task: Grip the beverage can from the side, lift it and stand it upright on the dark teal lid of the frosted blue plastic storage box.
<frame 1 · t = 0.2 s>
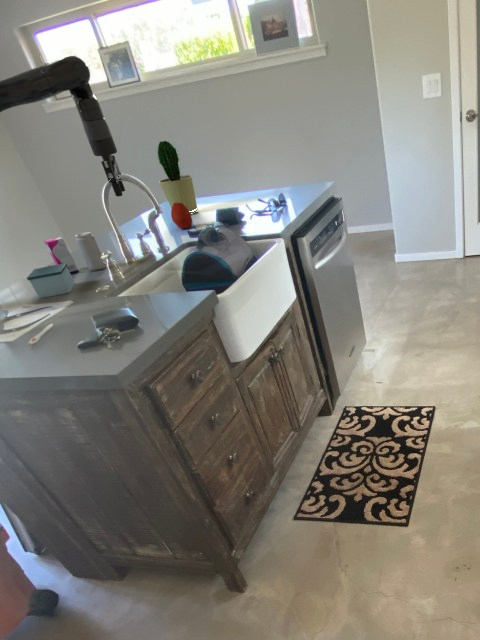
hand: (121, 193, 180), 22 cm above the worktop, tool pointing down, fingers open, 8 cm apart
container: (57, 290, 178), on the worktop
supplement box: (69, 272, 195), on the worktop
potted cactus: (186, 214, 254), on the worktop
red ovoid: (185, 229, 229), on the worktop
beverage can: (98, 269, 194), on the worktop
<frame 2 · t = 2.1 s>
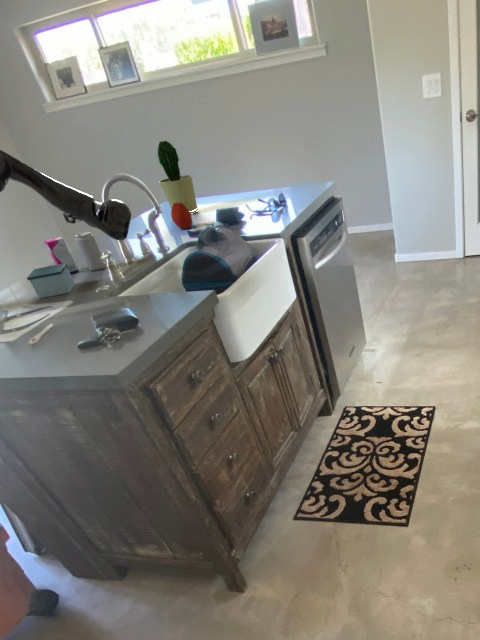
hand: (81, 211, 174), 20 cm above the worktop, tool horizontal, fingers open, 8 cm apart
nothing on the worktop moved.
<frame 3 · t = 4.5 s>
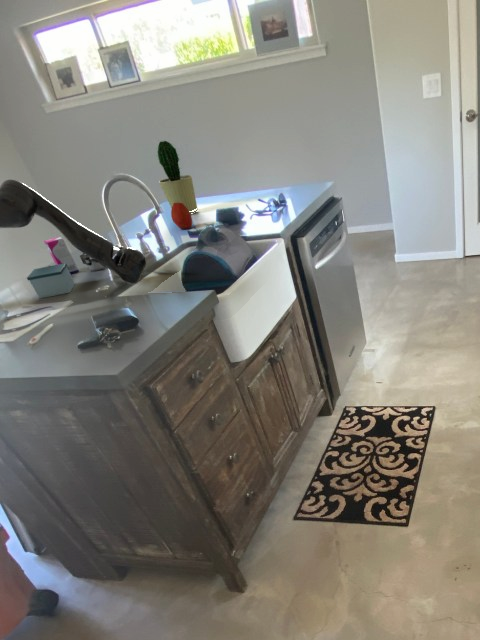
hand: (96, 252, 185), 7 cm above the worktop, tool horizontal, fingers open, 8 cm apart
nothing on the worktop moved.
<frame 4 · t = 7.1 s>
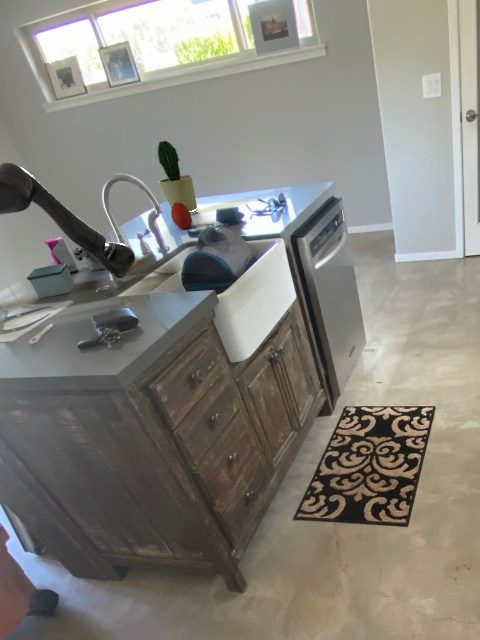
hand: (87, 247, 191), 7 cm above the worktop, tool horizontal, fingers closed on beverage can, 6 cm apart
beverage can: (98, 269, 194), on the worktop, touching gripper
everything else where it was.
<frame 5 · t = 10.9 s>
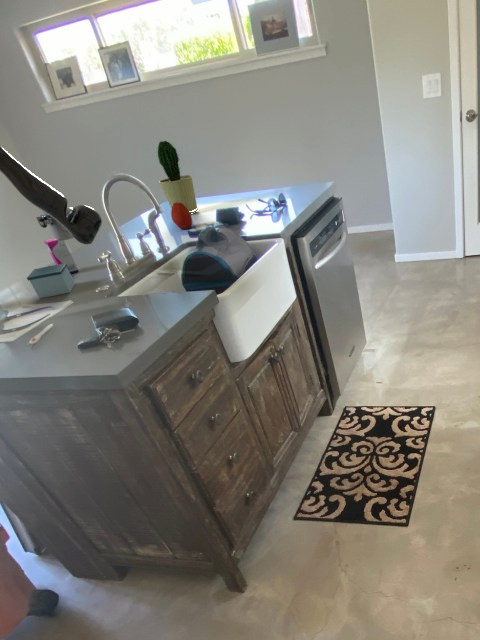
hand: (53, 215, 177), 20 cm above the worktop, tool horizontal, fingers closed on beverage can, 6 cm apart
beverage can: (66, 239, 180), point 12 cm above the worktop, touching gripper
everything else where it was.
when the fingers open (14 cm above the worktop, at t = 15.0 s): beverage can stays where it is, resting on container.
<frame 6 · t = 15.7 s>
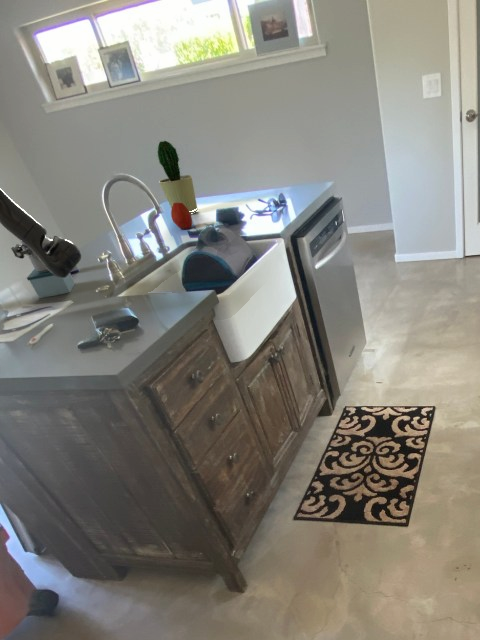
hand: (32, 244, 169), 15 cm above the worktop, tool horizontal, fingers open, 8 cm apart
beverage can: (47, 270, 173), point 7 cm above the worktop, touching container
everything else where it was.
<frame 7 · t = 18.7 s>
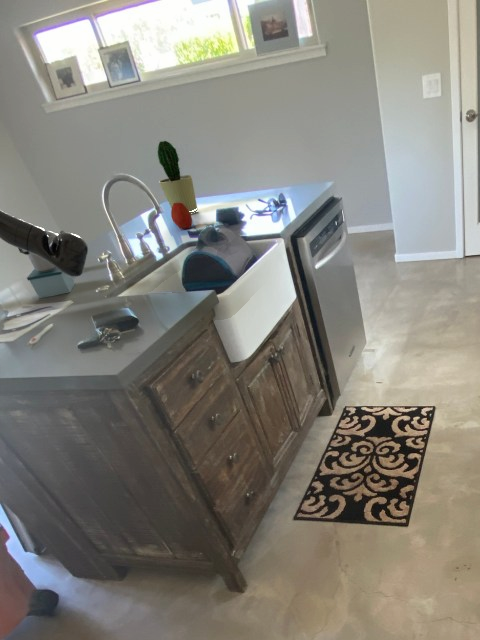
hand: (37, 239, 160), 17 cm above the worktop, tool horizontal, fingers open, 8 cm apart
nothing on the worktop moved.
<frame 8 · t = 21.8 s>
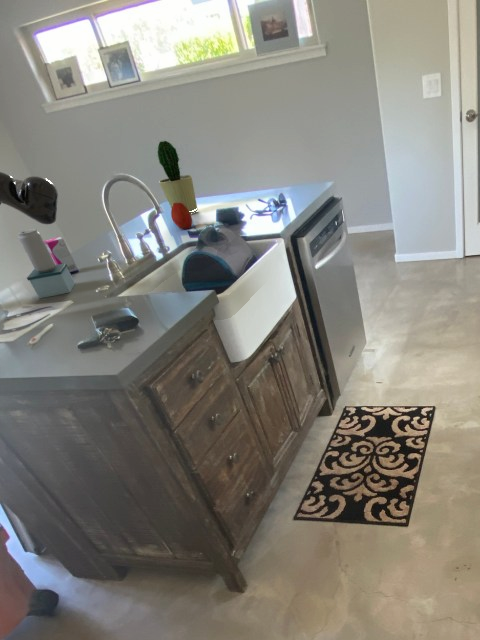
hand: (11, 192, 154), 30 cm above the worktop, tool horizontal, fingers open, 8 cm apart
nothing on the worktop moved.
at the end: beverage can inside the target area on the container (0.1 cm from its centre), point 6.6 cm above the container's base; beverage can tilted 0°; the gripper is holding nothing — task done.
